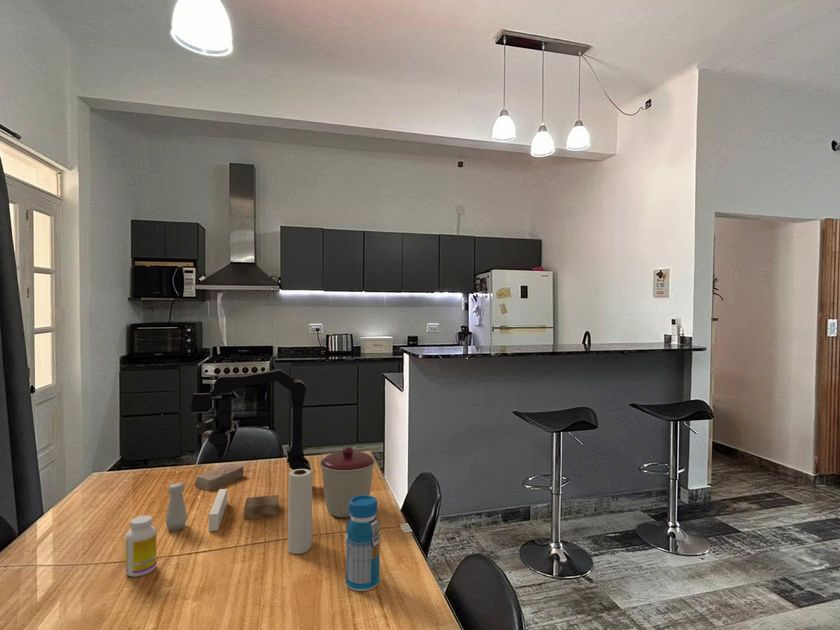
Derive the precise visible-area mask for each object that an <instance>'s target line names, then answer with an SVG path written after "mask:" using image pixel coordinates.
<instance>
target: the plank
mask: <svg viewBox="0 0 840 630" xmlns="http://www.w3.org/2000/svg"><path fill="white" fill-rule="evenodd" d="M227 505H228V488H220V489H218V491H217V494H216V497H215V498H214V501H213V503H212V506H211V509H210V511H209V514H208V532H215V531H219V529H220V525H221V522H222V520H223V516H224V514H225V511H226V508H227Z"/></svg>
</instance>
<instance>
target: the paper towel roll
mask: <svg viewBox="0 0 840 630" xmlns="http://www.w3.org/2000/svg"><path fill="white" fill-rule="evenodd" d="M287 501H288V502H287V504H288V509H287V510H288V513H287V514H288V515H287V517H288V518H287V519H288V520H287V521H288V523H287V524H288V528H287V550H288V552H289V553H290V554H292V555H301V554H304V553H307V552H308V551H310V549H311V547H312V541H313V539H312V538H313V537H312V536H313V533H312V532H313V531H312V530H313V529H312V528H313V526H312V525H313V519H312V518H313V467H311V471H310V470H308V469H296V470H290V471H288V500H287Z"/></svg>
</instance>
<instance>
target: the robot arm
mask: <svg viewBox="0 0 840 630" xmlns="http://www.w3.org/2000/svg"><path fill="white" fill-rule="evenodd" d="M273 382H274V383H275V382H277V383H279V384H280V385H282V386H283V387H284V388H285V389H287V390H288V392H289V394H290V401H291V443H290V446H286V453H287V454H286V463H287V464H288V466H289V468H290V469H291V471H293V470H296V469H308V470H310V471H311V468H312V467H311V464H310V461H309V460H308V459H307V458H306V457H305V454H304V453H305V451H304V448H303V405H304V402H305V397H306V392H307V387H306V385H305V383H304V382H303V380H301V379H295V378H293V377H292V376H291V375H289V374H287V373H286V372H284V371H283V370H282V369H280V368H279V369H275V370H268V371H262V372H257V373H249V374H244V375H240V374H239V375H238V374H222V375H220V376H219V377H218V378H216V380H215V382H214V383H213V384H214V386H213V389H211V390H210V391H209V392H206V393H205V392H204V393H197V392H196V393H195V392H194V393H193V394H192V396H191V397H192V398H191V404H190V413H191V414H203V413H210V412H211V410H213V409H214V412H215V413H214V415H213V416H212V418H210V419H208V420H203V421H201V422H199V423H198V425H196V431H197V432H199V435H203V434H204V433H207V432H209V431H212V432H211V433H210V434H209V435H208V436H207V439H208V440H207V442H208V443H209V444H210V445H212V446H214V448H215V450H216V453H217V457H218V460H219V461H222V460H224V457H225V454H226V453H227V452H230V449H231V447H232V445H233V442H234V439H235V437H236V435H237V432H238V429H239V423H238V422H237V421H236V420H234V419H233V418H234V415H235V412H233V411H234V409H233V407H234V406H233V405H234V403H233V399H234V400H236V399H238V398H239V394H237V393H236V392H235V390H238V389H240V388H243V387H249V386H255V385H261V384H267V383H273ZM230 392H231V393H230ZM220 394H221V396H219V395H220Z"/></svg>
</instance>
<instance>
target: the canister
mask: <svg viewBox="0 0 840 630" xmlns="http://www.w3.org/2000/svg"><path fill="white" fill-rule="evenodd" d="M374 465H376V458H375V457H373V456H372V455H370V454H368V453H365V452H362V451H357V450H354V448H353V447H351V446H345V447H344V448H343V449H342V451H338V452H334V453H330V454H328V455H326V456H325V457H324V458H322V459H321V460H320V461H319V466H320V468H321V472H322V484H323V492H324V500H325V507H326V510H327V512H328V513H329V515H332V516H334V517H336V518H340V519H342V518H344V519H345V518H347V519H348V518H351V516H350V513H349V503H350V500H351V499H352V498H353V497H356V496H361V495H369V496H371V490H372V480H373V471H374Z"/></svg>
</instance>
